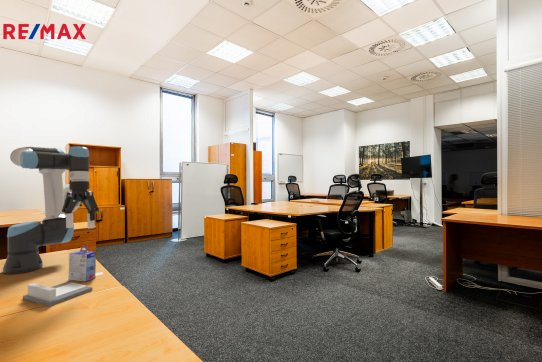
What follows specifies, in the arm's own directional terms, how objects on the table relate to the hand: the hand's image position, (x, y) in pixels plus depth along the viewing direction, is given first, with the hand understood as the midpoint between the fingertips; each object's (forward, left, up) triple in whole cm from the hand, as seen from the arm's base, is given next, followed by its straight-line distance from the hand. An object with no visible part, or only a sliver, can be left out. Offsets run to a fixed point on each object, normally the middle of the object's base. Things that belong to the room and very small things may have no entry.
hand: (80, 228), depth 126 cm
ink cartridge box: (-1, +1, -24) cm, 24 cm away
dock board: (+8, -14, -24) cm, 28 cm away
